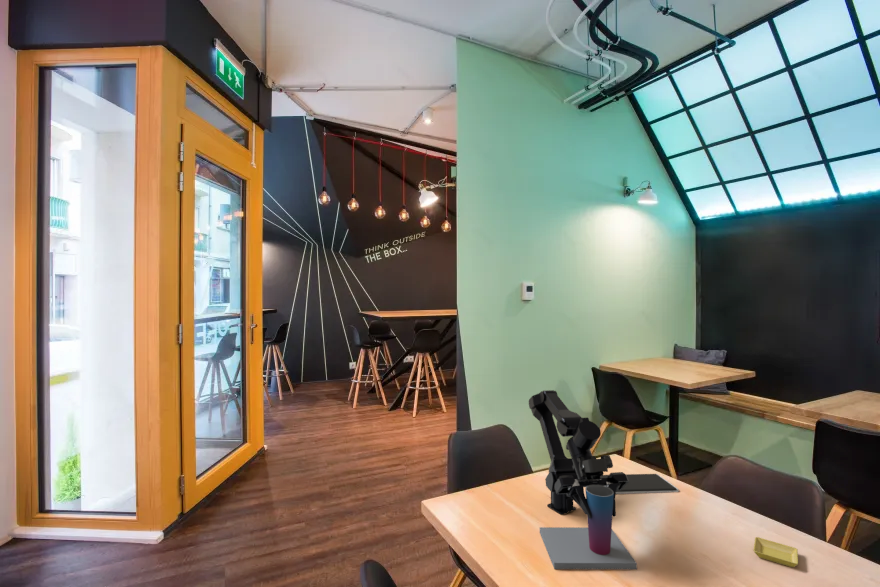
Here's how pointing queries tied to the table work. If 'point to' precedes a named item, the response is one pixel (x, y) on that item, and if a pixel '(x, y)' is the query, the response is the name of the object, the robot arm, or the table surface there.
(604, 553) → the cup
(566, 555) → the board
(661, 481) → the black tablet
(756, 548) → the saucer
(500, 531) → the table surface
